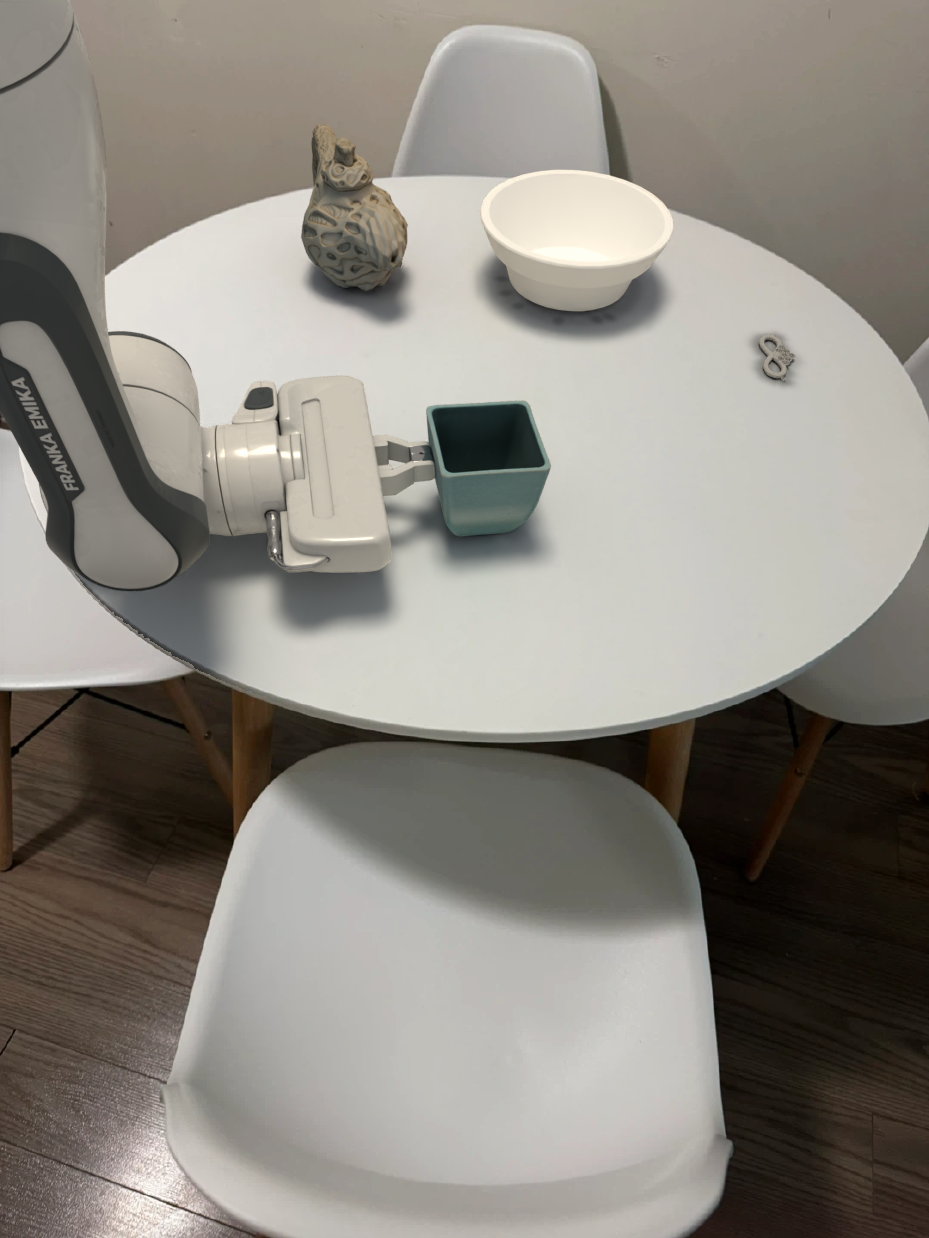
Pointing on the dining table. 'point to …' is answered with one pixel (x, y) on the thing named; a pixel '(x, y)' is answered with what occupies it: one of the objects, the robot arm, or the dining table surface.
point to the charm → (776, 356)
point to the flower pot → (486, 465)
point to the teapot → (350, 217)
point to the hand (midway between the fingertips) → (432, 460)
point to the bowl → (574, 235)
